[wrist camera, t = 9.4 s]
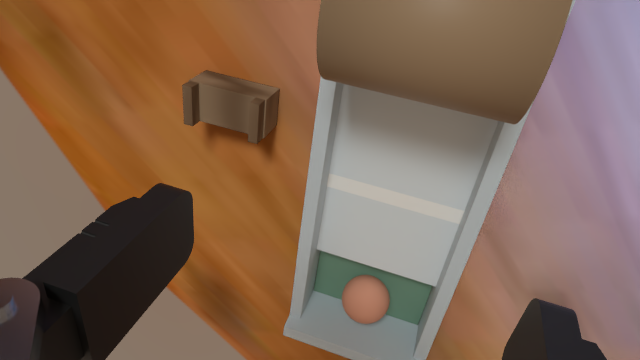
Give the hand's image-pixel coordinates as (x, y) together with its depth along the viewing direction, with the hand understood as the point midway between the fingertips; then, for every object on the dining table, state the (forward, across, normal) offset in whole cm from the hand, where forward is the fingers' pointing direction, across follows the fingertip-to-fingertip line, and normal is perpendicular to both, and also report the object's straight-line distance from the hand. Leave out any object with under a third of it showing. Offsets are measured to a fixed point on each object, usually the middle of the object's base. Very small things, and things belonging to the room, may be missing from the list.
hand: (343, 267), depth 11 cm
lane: (+22, 0, +9) cm, 24 cm away
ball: (+20, 0, +21) cm, 29 cm away
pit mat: (+22, 0, +21) cm, 30 cm away
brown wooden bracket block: (+22, +13, +7) cm, 26 cm away
